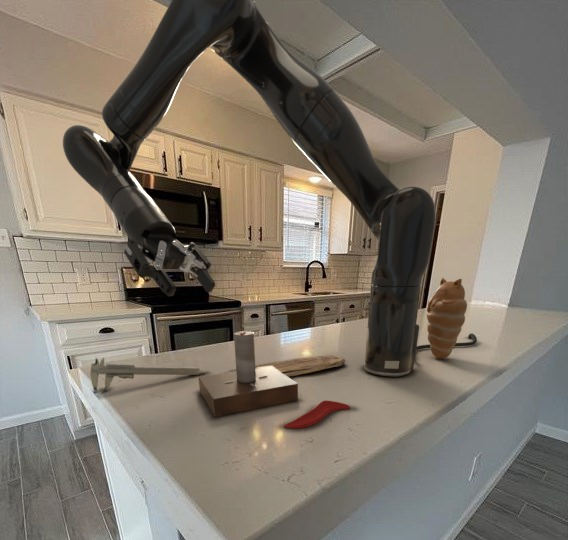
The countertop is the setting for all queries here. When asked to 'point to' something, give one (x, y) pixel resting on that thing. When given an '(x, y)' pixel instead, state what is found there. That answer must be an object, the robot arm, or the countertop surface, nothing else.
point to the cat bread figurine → (445, 317)
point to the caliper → (134, 371)
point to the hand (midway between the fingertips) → (193, 290)
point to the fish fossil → (306, 364)
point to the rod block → (247, 391)
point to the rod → (245, 356)
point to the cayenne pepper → (316, 414)
